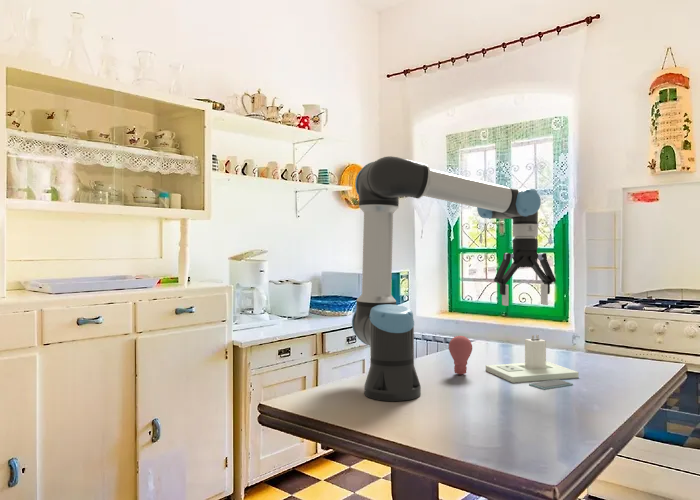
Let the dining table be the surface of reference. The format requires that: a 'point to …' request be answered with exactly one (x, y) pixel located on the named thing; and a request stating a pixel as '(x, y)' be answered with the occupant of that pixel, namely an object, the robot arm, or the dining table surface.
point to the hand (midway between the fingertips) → (524, 305)
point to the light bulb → (460, 353)
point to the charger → (535, 353)
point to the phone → (551, 384)
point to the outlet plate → (531, 372)
